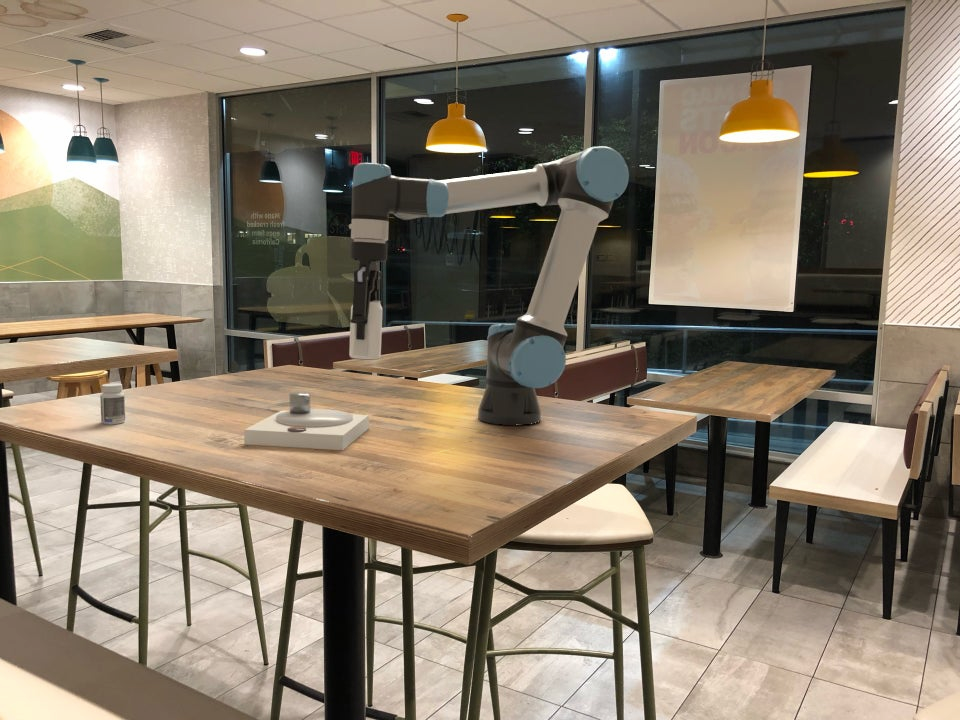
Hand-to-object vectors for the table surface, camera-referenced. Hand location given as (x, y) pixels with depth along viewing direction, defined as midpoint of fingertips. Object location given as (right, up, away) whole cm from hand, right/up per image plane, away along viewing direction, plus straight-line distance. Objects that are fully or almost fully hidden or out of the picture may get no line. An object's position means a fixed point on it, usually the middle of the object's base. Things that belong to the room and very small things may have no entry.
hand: (365, 353), depth 155 cm
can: (0, -1, 0) cm, 1 cm away
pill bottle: (-56, -15, +8) cm, 59 cm away
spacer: (-15, -13, +8) cm, 21 cm away
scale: (-12, -17, +2) cm, 21 cm away
